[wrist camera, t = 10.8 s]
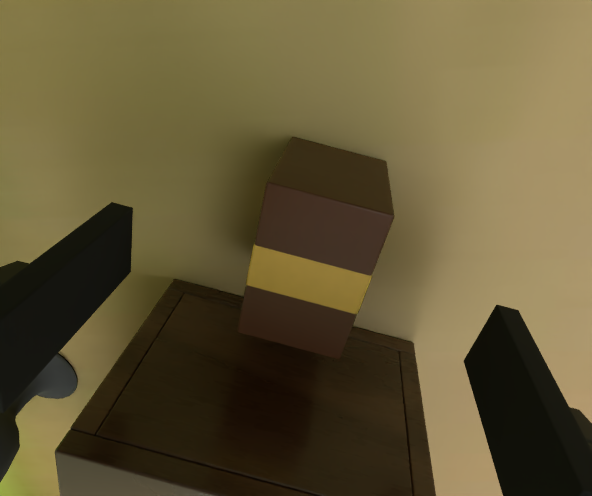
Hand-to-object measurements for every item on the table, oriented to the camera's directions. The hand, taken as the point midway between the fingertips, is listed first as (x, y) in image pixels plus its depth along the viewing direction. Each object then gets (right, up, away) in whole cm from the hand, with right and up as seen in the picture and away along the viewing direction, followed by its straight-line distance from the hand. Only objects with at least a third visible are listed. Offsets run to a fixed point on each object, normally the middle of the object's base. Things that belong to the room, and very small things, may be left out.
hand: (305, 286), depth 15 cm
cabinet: (-2, -8, +11) cm, 14 cm away
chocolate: (+1, +3, +5) cm, 6 cm away
